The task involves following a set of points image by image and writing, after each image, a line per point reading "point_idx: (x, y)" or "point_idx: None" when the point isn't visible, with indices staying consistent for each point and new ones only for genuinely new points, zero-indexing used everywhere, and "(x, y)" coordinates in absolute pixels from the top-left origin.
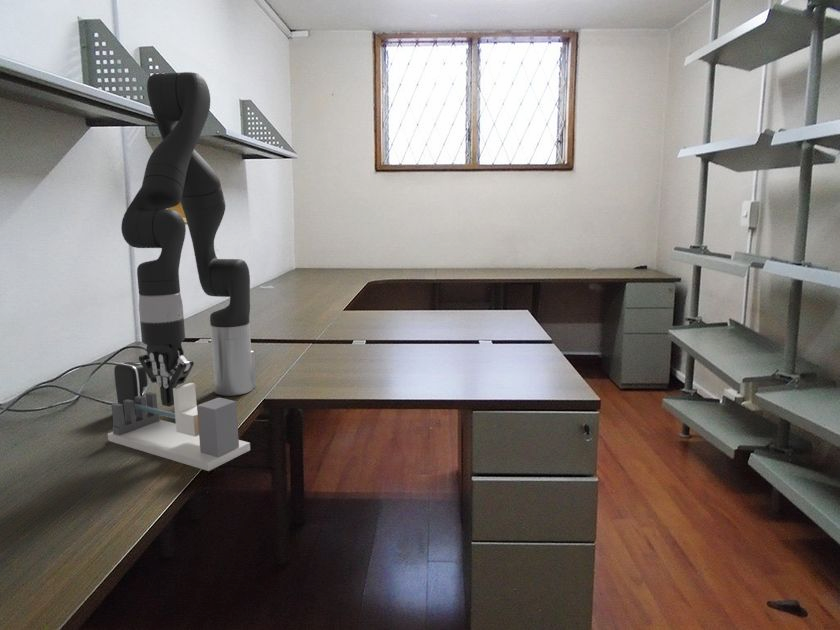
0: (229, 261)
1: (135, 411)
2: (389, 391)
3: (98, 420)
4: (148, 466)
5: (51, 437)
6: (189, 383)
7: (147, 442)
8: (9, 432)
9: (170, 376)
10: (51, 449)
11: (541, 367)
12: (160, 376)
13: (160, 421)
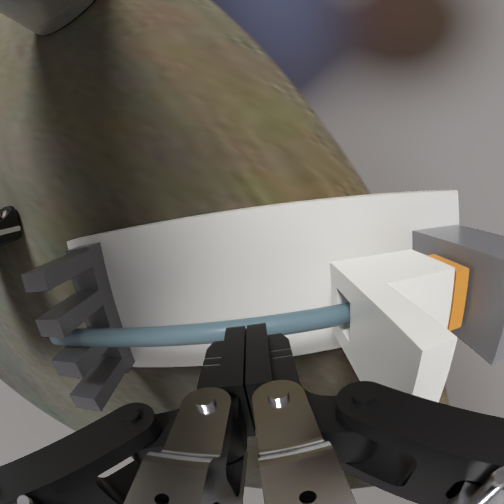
0: None
1: (12, 240)
2: None
3: (7, 296)
4: (325, 376)
5: (46, 382)
6: (426, 363)
7: None
8: (11, 386)
9: (229, 439)
10: (96, 412)
11: None
12: (241, 498)
13: (107, 243)
